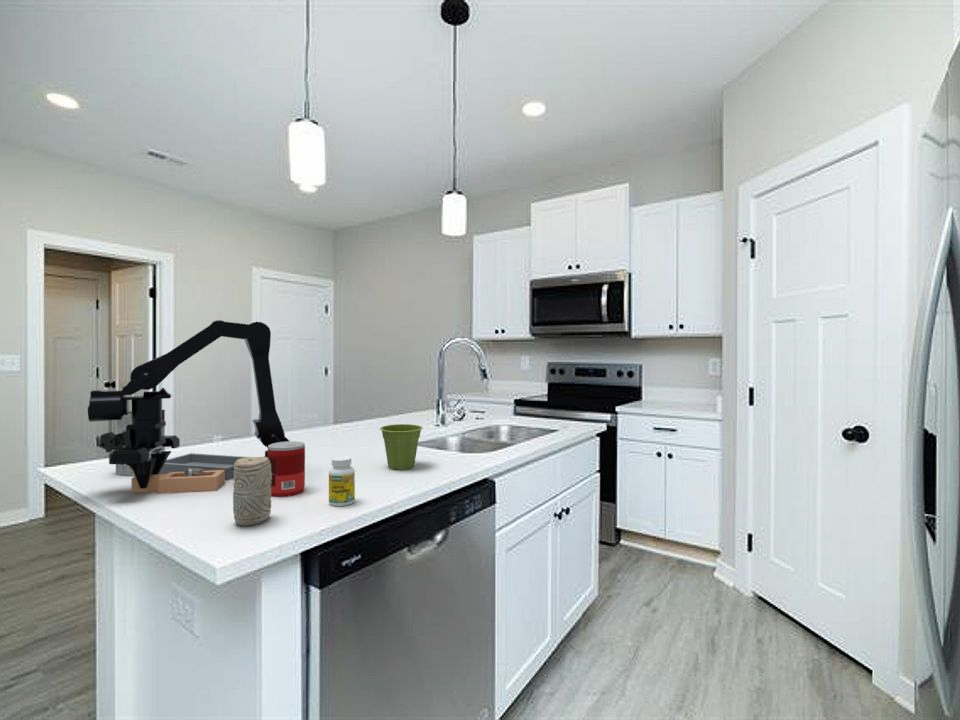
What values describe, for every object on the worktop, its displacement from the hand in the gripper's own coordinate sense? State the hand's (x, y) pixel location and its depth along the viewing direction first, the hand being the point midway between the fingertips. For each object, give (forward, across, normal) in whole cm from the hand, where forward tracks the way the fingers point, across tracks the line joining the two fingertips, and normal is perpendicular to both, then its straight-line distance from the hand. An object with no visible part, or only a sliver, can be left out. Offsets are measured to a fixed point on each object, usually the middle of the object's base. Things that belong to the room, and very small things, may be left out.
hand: (147, 486), depth 108 cm
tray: (+1, -16, +7) cm, 18 cm away
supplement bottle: (+1, +15, +45) cm, 48 cm away
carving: (+1, +24, +30) cm, 38 cm away
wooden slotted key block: (+1, 0, +6) cm, 6 cm away
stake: (+1, 0, +9) cm, 9 cm away
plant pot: (+1, -14, +58) cm, 59 cm away
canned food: (+1, +6, +32) cm, 32 cm away
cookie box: (+1, -18, -10) cm, 21 cm away
